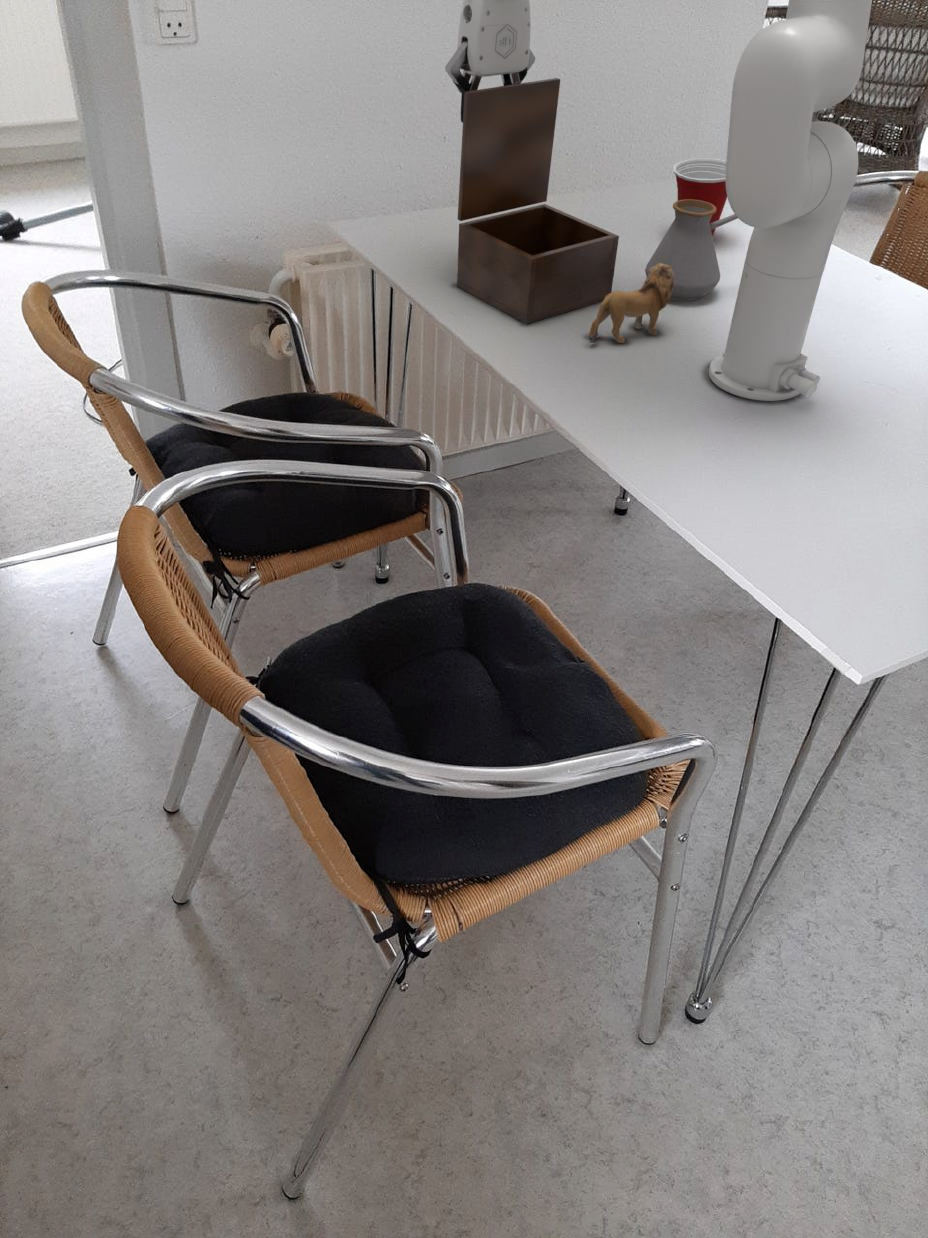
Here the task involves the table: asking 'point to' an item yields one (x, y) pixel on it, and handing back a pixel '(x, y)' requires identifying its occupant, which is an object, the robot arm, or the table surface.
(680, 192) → the plastic cup
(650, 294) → the lion figurine
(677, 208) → the coffee pot
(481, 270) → the chest
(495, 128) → the lid
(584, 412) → the table surface
